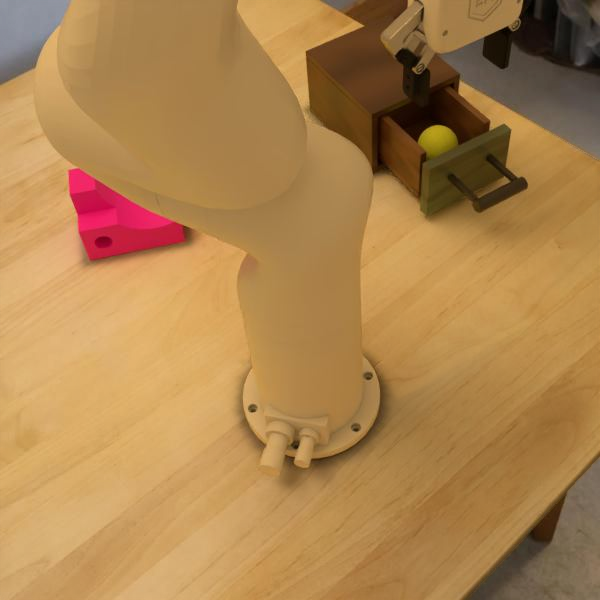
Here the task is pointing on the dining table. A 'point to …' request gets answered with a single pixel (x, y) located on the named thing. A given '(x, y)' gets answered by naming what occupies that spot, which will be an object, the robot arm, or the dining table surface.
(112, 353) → the dining table surface
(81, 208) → the toy block
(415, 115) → the drawer
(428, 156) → the yellow ball
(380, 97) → the cabinet
